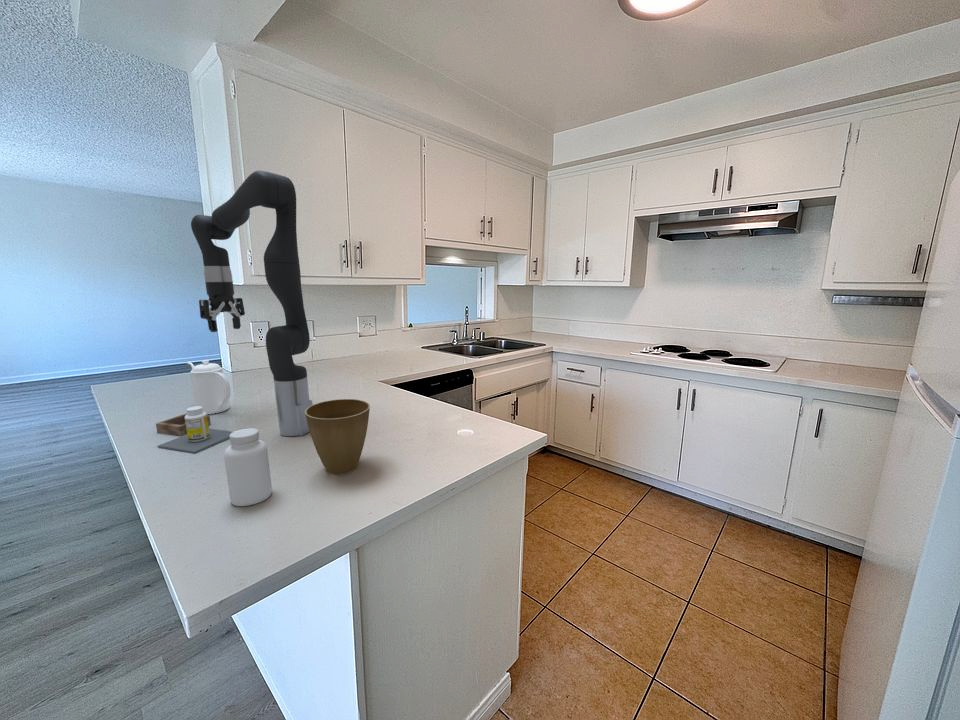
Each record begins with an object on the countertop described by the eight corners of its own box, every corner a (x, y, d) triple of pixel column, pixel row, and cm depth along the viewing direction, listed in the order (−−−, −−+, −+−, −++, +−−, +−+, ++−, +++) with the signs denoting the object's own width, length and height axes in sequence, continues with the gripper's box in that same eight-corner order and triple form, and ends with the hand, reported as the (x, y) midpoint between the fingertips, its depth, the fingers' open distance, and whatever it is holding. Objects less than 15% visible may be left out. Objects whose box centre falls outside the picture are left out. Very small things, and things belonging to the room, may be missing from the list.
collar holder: (210, 424, 127) (209, 416, 126) (180, 436, 118) (179, 426, 117) (188, 421, 130) (186, 413, 129) (157, 432, 120) (155, 423, 120)
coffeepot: (208, 401, 151) (201, 354, 148) (247, 411, 140) (240, 360, 136) (176, 409, 142) (168, 359, 138) (215, 420, 131) (207, 366, 127)
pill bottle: (279, 487, 89) (271, 425, 86) (261, 507, 81) (252, 440, 78) (244, 487, 88) (235, 425, 85) (222, 508, 81) (211, 440, 77)
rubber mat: (239, 434, 119) (239, 432, 119) (195, 453, 106) (194, 451, 106) (204, 429, 123) (204, 427, 123) (157, 447, 110) (157, 445, 110)
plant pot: (306, 487, 89) (300, 421, 85) (314, 459, 103) (309, 401, 99) (374, 477, 93) (370, 414, 89) (372, 451, 107) (369, 396, 103)
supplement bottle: (203, 434, 117) (198, 404, 115) (214, 437, 115) (209, 406, 113) (184, 441, 113) (179, 409, 111) (195, 444, 111) (190, 412, 109)
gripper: (207, 280, 118) (214, 333, 121) (246, 280, 132) (252, 328, 135) (188, 280, 120) (196, 332, 123) (229, 280, 134) (235, 327, 137)
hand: (225, 330), depth 129 cm, fingers open, 8 cm apart
